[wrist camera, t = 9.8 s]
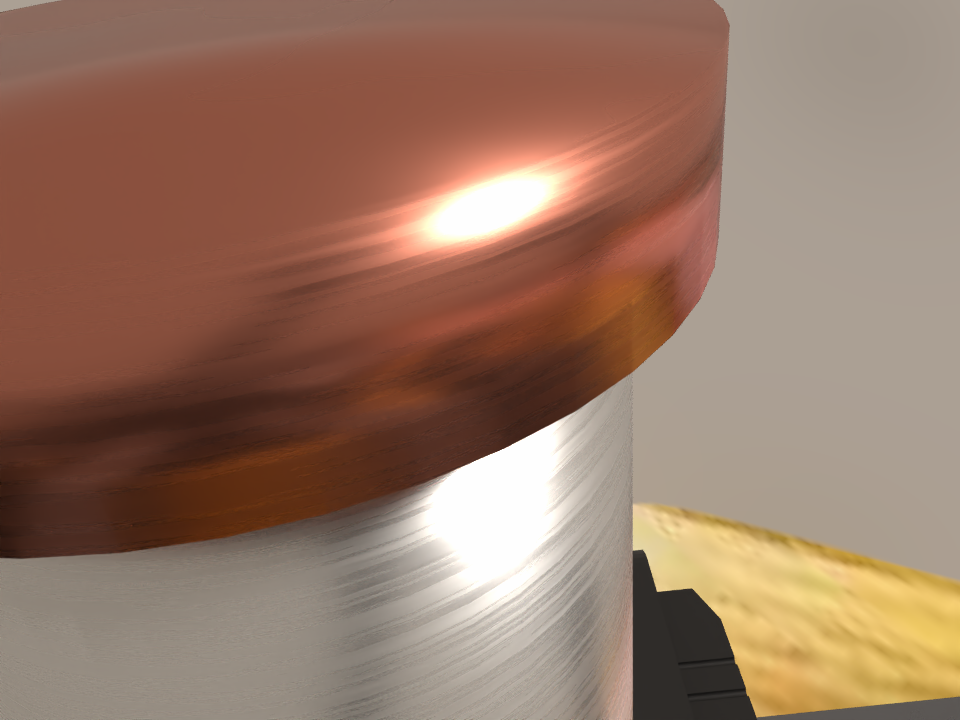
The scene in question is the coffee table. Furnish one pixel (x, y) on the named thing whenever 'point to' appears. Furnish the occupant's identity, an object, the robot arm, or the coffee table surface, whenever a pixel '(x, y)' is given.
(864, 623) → the coffee table surface
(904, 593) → the coffee table surface
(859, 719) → the bore housing
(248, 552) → the capped metal cylinder
